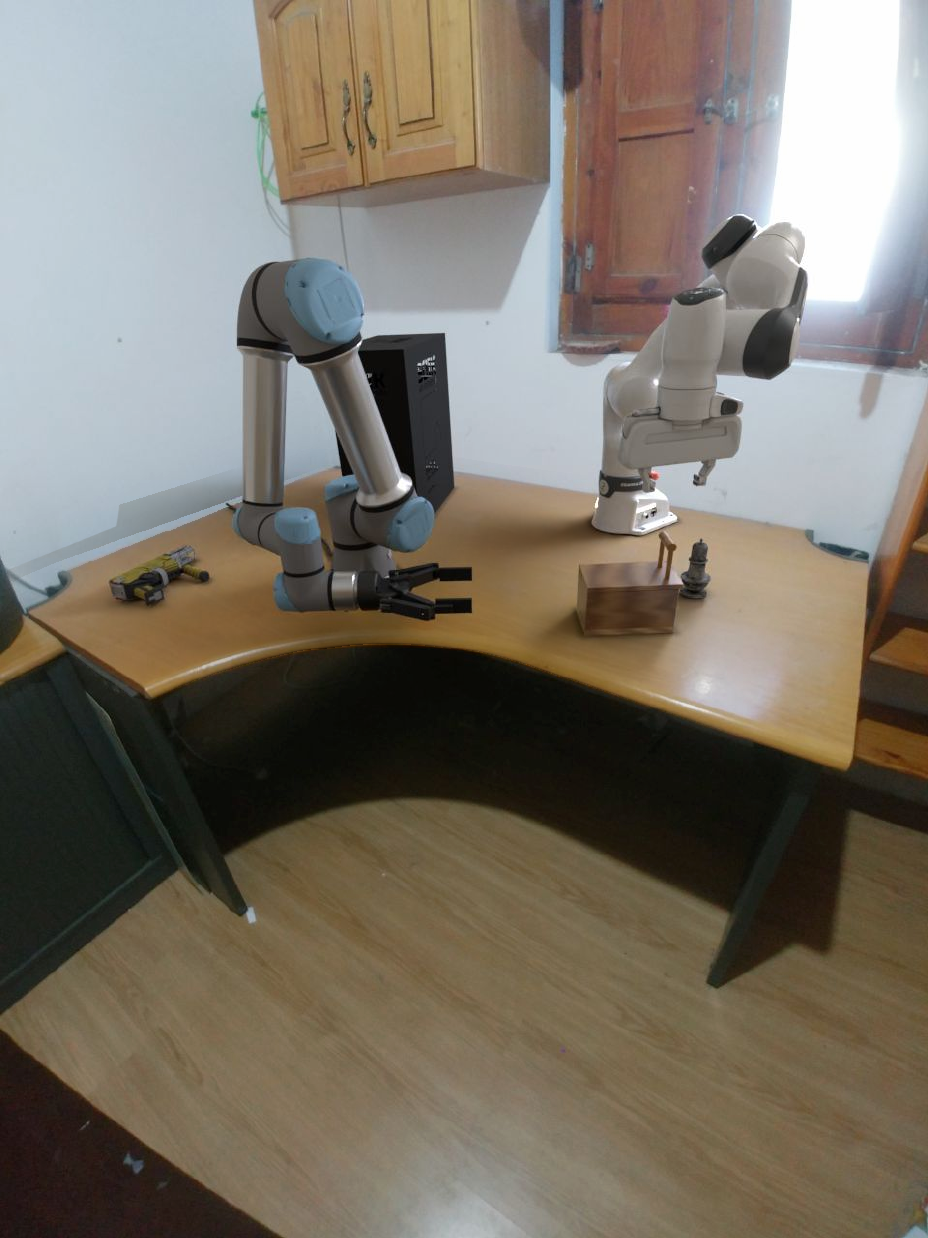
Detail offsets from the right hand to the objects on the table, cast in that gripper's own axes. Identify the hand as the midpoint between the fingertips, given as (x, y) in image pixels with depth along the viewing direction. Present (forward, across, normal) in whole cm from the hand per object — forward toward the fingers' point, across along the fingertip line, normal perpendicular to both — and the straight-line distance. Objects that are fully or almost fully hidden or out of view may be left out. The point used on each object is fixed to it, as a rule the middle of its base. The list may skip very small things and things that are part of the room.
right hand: (673, 488), depth 103 cm
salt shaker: (+26, +12, +8) cm, 30 cm away
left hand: (+18, -35, +7) cm, 39 cm away
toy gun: (+26, -97, +48) cm, 112 cm away
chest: (+26, -6, +2) cm, 27 cm away
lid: (+17, -6, +1) cm, 18 cm away
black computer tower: (+26, -38, +82) cm, 94 cm away
